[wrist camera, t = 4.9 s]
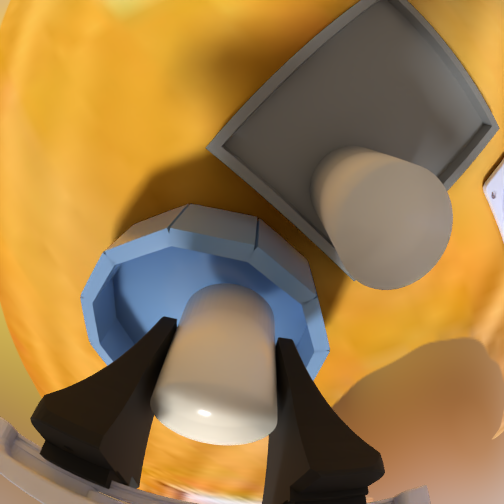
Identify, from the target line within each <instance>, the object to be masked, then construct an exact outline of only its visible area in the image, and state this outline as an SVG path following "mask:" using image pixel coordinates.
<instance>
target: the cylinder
mask: <svg viewBox="0 0 504 504" xmlns="http://www.w3.org/2000/svg"><path fill="white" fill-rule="evenodd" d="M310 196H311V201H312V204H313V207H314V209H315V211H316V213H317V215H318V217H319V218H320V220H321V222H322V224H323V226H324V228H325V230H326V232H327V234H328V236H329V238H330V239H331V241H332V243H333V245H334V247H335V249H336V251H337V253H338V255H339V257H340V259H341V261H342V263H343V265H344V267H345V268H346V270H347V271H348V273H349V274H350V275H351V276H352V277H353V278H354V279H356V280H357V281H358V282H360V283H361V284H363V285H365V286H368V287H371V288H374V289H381V290H391V289H398V288H401V287H405V286H407V285H410V284H412V283H414V282H416V281H417V280H419V279H420V278H422V277H423V276H424V275H426V274H427V273H428V272H429V271H430V270H431V269H432V268H433V267H434V266H435V265H436V263H437V262H438V261H439V259H440V258H441V256H442V255H443V253H444V251H445V249H446V247H447V244H448V241H449V239H450V235H451V230H452V222H453V214H452V206H451V201H450V198H449V195H448V193H447V191H446V189H445V187H444V185H443V184H442V182H441V181H440V180H439V179H438V178H437V177H436V176H435V175H434V174H433V173H432V172H430V171H429V170H427V169H425V168H424V167H421V166H419V165H416V164H413V163H410V162H408V161H405V160H402V159H399V158H396V157H393V156H390V155H387V154H384V153H381V152H377V151H374V150H371V149H367V148H364V147H360V146H345V147H341V148H338V149H336V150H334V151H332V152H330V153H329V154H327V155H326V156H325V157H324V158H323V159H322V160H321V161H320V162H319V164H318V165H317V167H316V168H315V171H314V173H313V175H312V178H311V183H310Z"/></svg>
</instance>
